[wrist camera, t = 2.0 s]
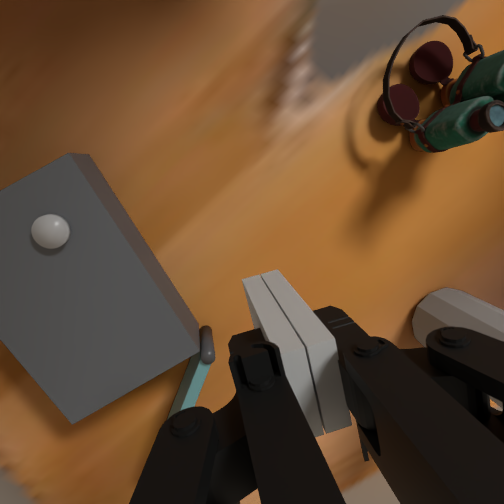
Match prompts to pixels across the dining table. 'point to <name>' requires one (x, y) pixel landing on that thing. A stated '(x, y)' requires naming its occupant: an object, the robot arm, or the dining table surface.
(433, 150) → the binoculars
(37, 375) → the block
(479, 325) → the water bottle
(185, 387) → the side door
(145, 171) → the dining table surface
